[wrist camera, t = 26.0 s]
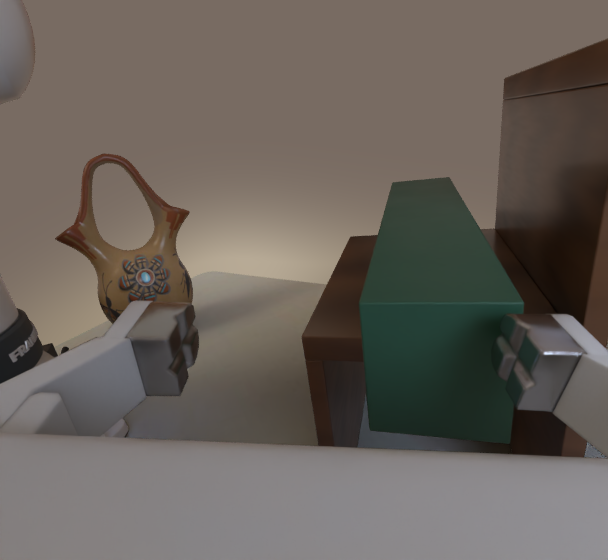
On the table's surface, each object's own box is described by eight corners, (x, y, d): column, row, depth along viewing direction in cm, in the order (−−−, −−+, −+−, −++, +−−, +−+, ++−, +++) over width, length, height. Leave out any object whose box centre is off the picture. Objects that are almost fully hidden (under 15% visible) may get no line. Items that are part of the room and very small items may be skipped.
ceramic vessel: (96, 365, 48) (14, 165, 38) (102, 335, 56) (35, 163, 46) (221, 327, 53) (175, 143, 44) (210, 305, 61) (169, 144, 52)
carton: (510, 445, 12) (525, 302, 10) (369, 431, 13) (358, 302, 11) (448, 238, 31) (449, 176, 29) (394, 240, 32) (392, 182, 30)
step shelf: (871, 613, 17) (1422, -114, 8) (330, 522, 25) (262, 93, 15) (651, 375, 33) (739, 40, 24) (361, 363, 41) (338, 104, 31)
